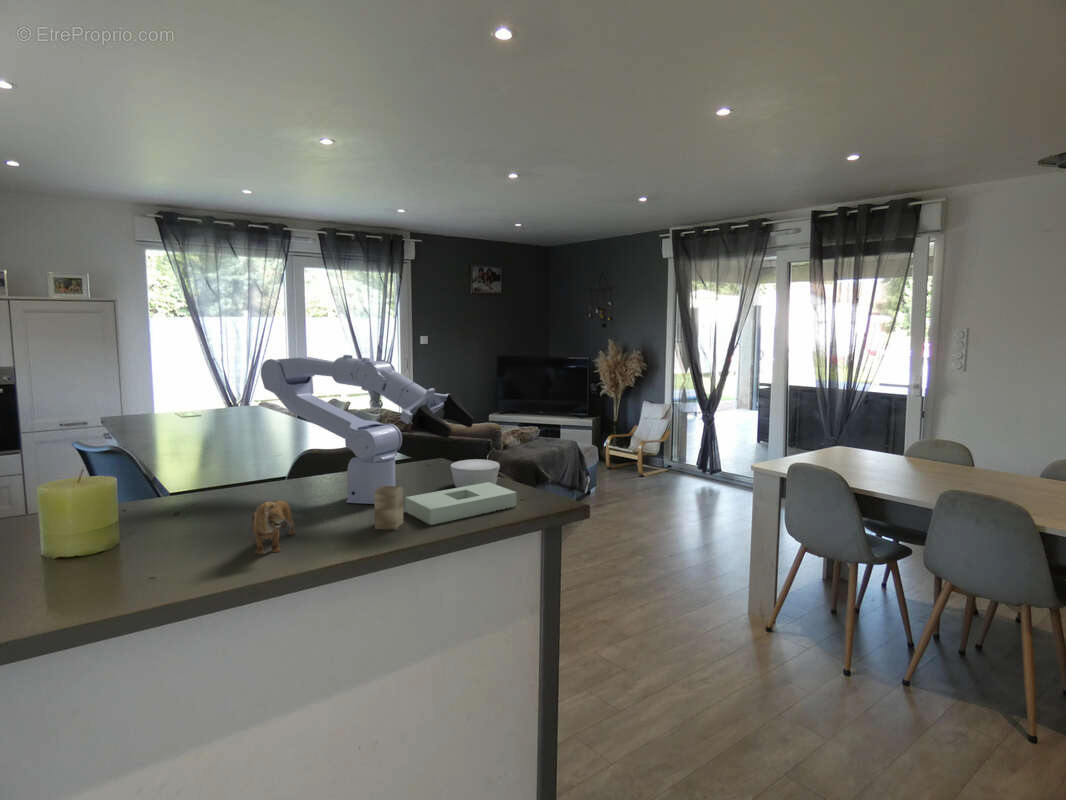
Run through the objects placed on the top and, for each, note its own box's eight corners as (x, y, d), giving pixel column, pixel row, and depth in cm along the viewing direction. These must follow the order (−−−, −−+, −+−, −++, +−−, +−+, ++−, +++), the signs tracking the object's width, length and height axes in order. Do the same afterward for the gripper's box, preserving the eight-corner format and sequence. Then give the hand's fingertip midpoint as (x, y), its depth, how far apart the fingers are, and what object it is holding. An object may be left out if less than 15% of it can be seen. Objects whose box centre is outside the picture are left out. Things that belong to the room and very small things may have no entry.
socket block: (430, 525, 116) (430, 509, 115) (405, 511, 123) (405, 497, 123) (516, 506, 128) (516, 492, 128) (488, 495, 136) (488, 482, 135)
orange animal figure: (284, 560, 98) (282, 505, 97) (248, 562, 97) (245, 506, 96) (297, 529, 112) (295, 481, 111) (266, 531, 111) (264, 482, 110)
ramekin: (445, 482, 147) (445, 460, 146) (490, 478, 151) (490, 457, 150) (458, 495, 136) (458, 471, 136) (506, 490, 141) (506, 467, 140)
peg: (374, 528, 113) (374, 491, 113) (382, 521, 117) (382, 485, 116) (396, 529, 113) (395, 492, 112) (403, 522, 117) (402, 486, 116)
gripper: (388, 386, 118) (443, 420, 113) (435, 371, 130) (487, 401, 125) (380, 417, 121) (434, 452, 116) (427, 400, 133) (477, 430, 128)
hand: (461, 428), depth 121 cm, fingers open, 7 cm apart
